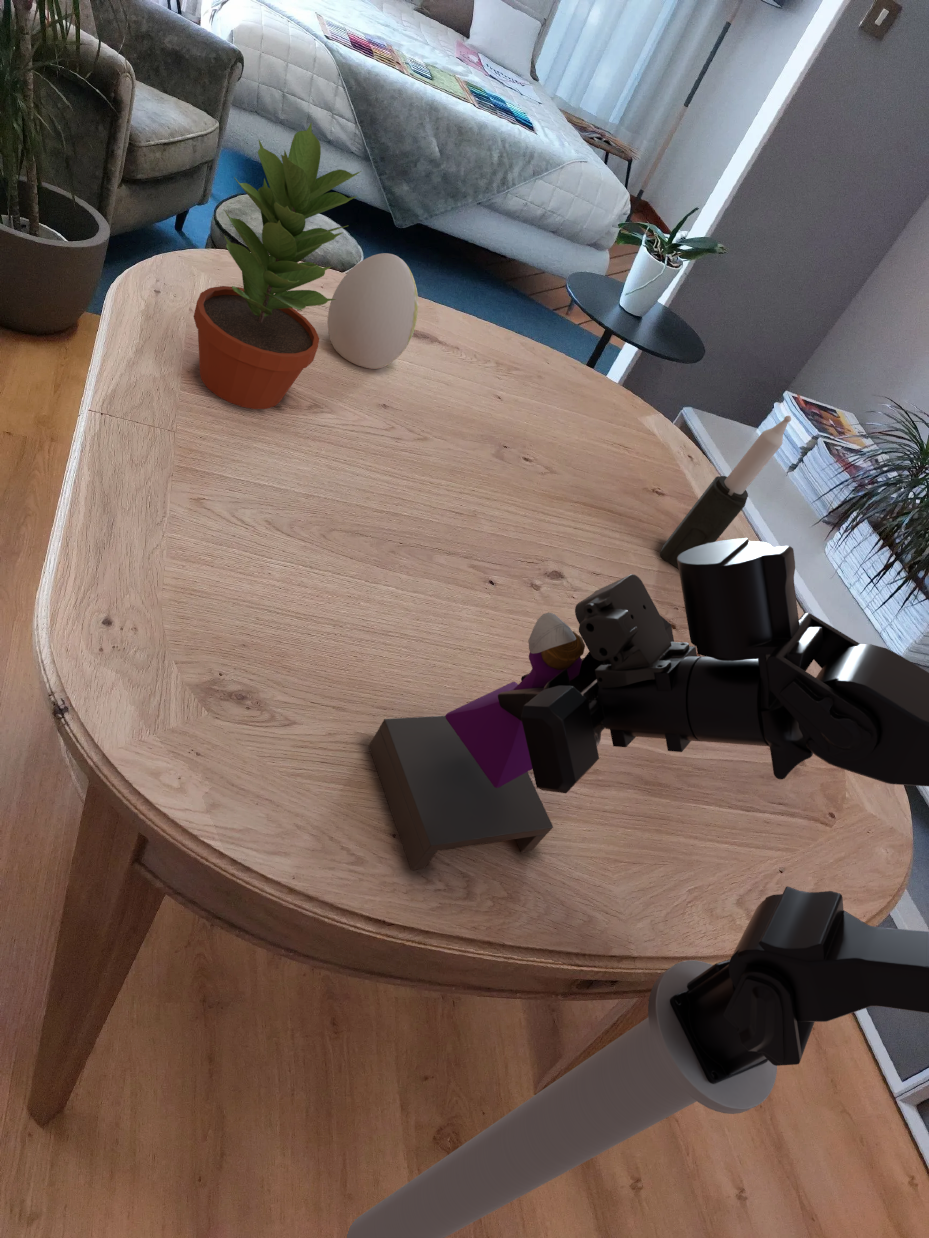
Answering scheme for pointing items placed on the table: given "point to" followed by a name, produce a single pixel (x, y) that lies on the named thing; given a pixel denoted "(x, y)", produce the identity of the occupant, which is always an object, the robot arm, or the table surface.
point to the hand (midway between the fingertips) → (511, 690)
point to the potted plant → (270, 283)
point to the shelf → (449, 792)
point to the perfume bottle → (496, 730)
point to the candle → (723, 498)
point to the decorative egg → (374, 311)
